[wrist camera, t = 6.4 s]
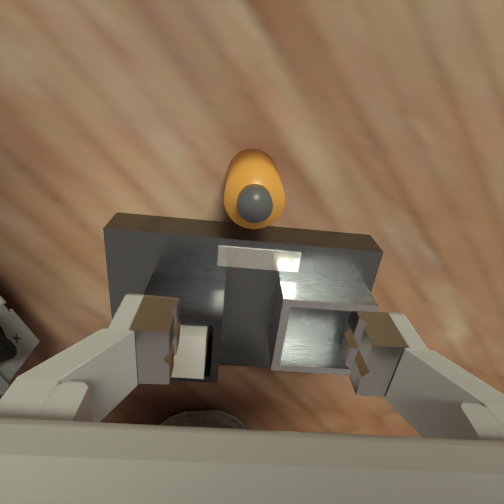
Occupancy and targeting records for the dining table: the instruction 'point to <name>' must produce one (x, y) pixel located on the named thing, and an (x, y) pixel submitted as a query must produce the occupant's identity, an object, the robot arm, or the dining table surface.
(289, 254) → the grey socket board
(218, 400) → the dining table surface
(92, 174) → the dining table surface
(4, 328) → the circuit breaker
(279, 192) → the orange rounded cylinder
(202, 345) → the button
